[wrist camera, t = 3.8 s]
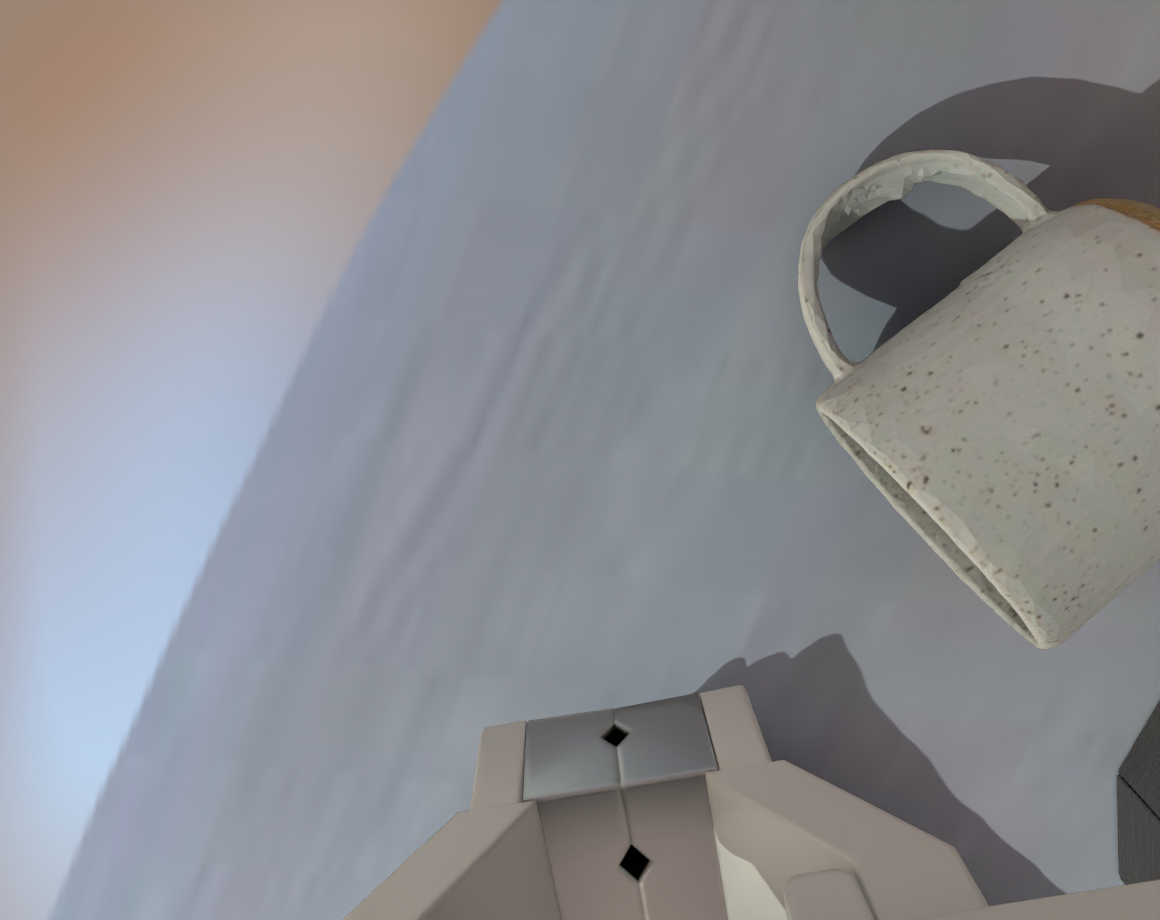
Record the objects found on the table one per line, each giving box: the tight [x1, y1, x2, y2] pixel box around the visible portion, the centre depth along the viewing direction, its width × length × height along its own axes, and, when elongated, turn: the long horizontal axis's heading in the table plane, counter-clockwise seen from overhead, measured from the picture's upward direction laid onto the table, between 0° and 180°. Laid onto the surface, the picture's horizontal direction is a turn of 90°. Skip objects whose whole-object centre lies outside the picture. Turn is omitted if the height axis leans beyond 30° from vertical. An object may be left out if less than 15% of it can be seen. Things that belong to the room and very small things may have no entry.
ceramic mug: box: [798, 150, 1160, 649], centre depth 23 cm, size 11×8×8 cm
